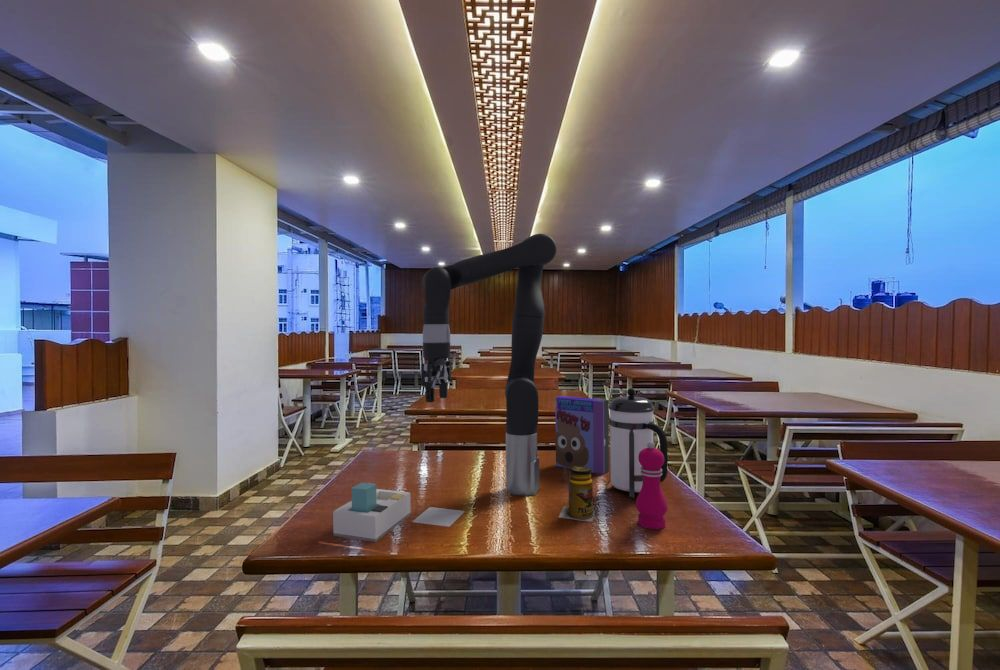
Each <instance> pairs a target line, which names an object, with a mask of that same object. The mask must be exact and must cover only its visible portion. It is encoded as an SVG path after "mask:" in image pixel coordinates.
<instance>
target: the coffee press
mask: <svg viewBox="0 0 1000 670" xmlns="http://www.w3.org/2000/svg"><path fill="white" fill-rule="evenodd" d="M626 393H627V395H628V396H627V395H626V396H617V397H615V398H613V399H612V400H611V401H610V404H609V463H610V479H609V480H608V482H607V483H606V484H605V489H606V490H607V491H610V490H611V489H613V488H616V489H618V490H621V491H624V492H628V494H629V495H628V496H629V500H635V493H640V491H641V488H642V485H643V476H642V474H641V469H640V468H641V467H642V465H641V464H640V463H639V461H638V456H639V453H640V451H641V450H642V449H644V448H648V446H647V444H648V442H650V441H651V442H654V443H655V434H656V435H657V436H658V439H659V441H658V442H659V450H660V451H661V452H662V453H663V455H664V464H663V466H662V467H661V469H662V476H660V483H662V482H664V481H665V480H666V479H667V476H668V466H669V465H668V456H669V455H668V454H669V453H668V439H667V435H666V433H665V431H664V429H663V428H662V427H661V426H660V425H658V424H655V420H654V411H655V406H654V405H653V403H652V401H651V400H650V399H648V398H645V397H643V396H642V397H641V396H635V394H636V391H635V389H634V388H628V389H627V391H626ZM609 483H611V486H610V487H607V486H608V485H609Z"/></svg>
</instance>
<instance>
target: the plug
mask: <svg viewBox="0 0 1000 670" xmlns="http://www.w3.org/2000/svg"><path fill="white" fill-rule="evenodd" d="M376 489H377V483H369V482H360V483H358V484H356V485H354V486H352V487H351V501H352V511H356V512H364V513H368V512H370V511H371V510H372V509H373V508H375V507H377V505H376Z"/></svg>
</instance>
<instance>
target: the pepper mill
mask: <svg viewBox="0 0 1000 670" xmlns="http://www.w3.org/2000/svg"><path fill="white" fill-rule="evenodd" d="M647 446H648V448H644V449H642V450H641V451H640V453H639V456H638V461H639V463H640V464H641V465H642V467H641V468H640V469H641V474H642V476H643V485H642V488H641V491H640V492H638V495H637V497H636V501H635V507H636V510H637V511H638V513H639V514H638V516H637V523H638V525H639V526H640V527H643V528H645V529H647V530H663V529H664V528H665V527H666V517H665V515H666V513H667V512H668V503H667V500H666V497H665V495H664V493H663V489H662V486H661V482H660V476H662V469H661V467H662V466H663V464H664V455H663V453H662V452H661V451H660V449H658V448H656V444H655V441H654V442H651V441H650V442H648V444H647Z"/></svg>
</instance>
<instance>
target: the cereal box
mask: <svg viewBox="0 0 1000 670" xmlns="http://www.w3.org/2000/svg"><path fill="white" fill-rule="evenodd" d="M609 403H610V402H609V399H601V398H598V399H597V398H590V397H589V398H588V397H577V396H576V397H574V396H565V395H564V396H563V395H561V396H560V395H559V396H556V397H555V408H554V409H555V411H554V412H555V415H554V416H555V417H554V419H555V467H557V468H561V469H562V468H563V469H569V470H570V469H571V467H573V466H585V467H588V468H590V469H591V474H597V475H602V476H604V475H605V474H607V473H608V472H609V473H610V434H609V418H610V410H609V405H610V404H609Z"/></svg>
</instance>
